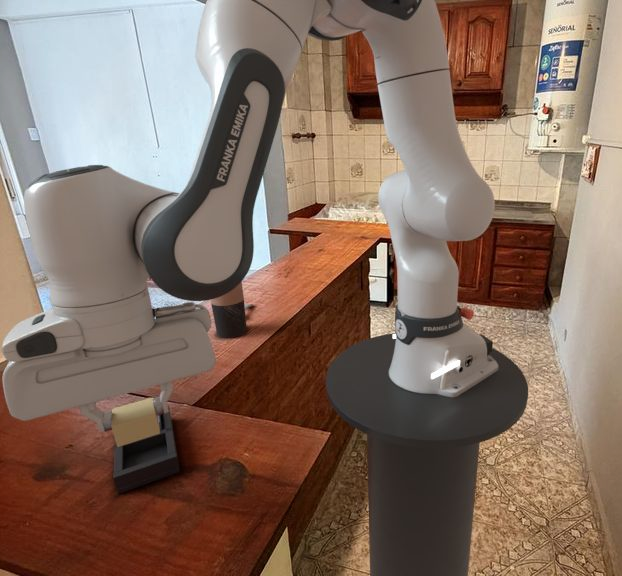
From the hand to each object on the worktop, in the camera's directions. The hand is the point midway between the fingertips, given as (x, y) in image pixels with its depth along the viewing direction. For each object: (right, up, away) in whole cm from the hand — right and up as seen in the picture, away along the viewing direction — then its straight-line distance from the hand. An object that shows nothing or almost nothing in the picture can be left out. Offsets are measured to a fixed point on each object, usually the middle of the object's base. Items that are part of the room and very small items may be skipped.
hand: (135, 420), depth 49 cm
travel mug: (-8, +5, +52) cm, 53 cm away
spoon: (-9, +9, +64) cm, 65 cm away
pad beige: (0, -2, +1) cm, 2 cm away
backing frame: (-5, -9, +11) cm, 15 cm away
